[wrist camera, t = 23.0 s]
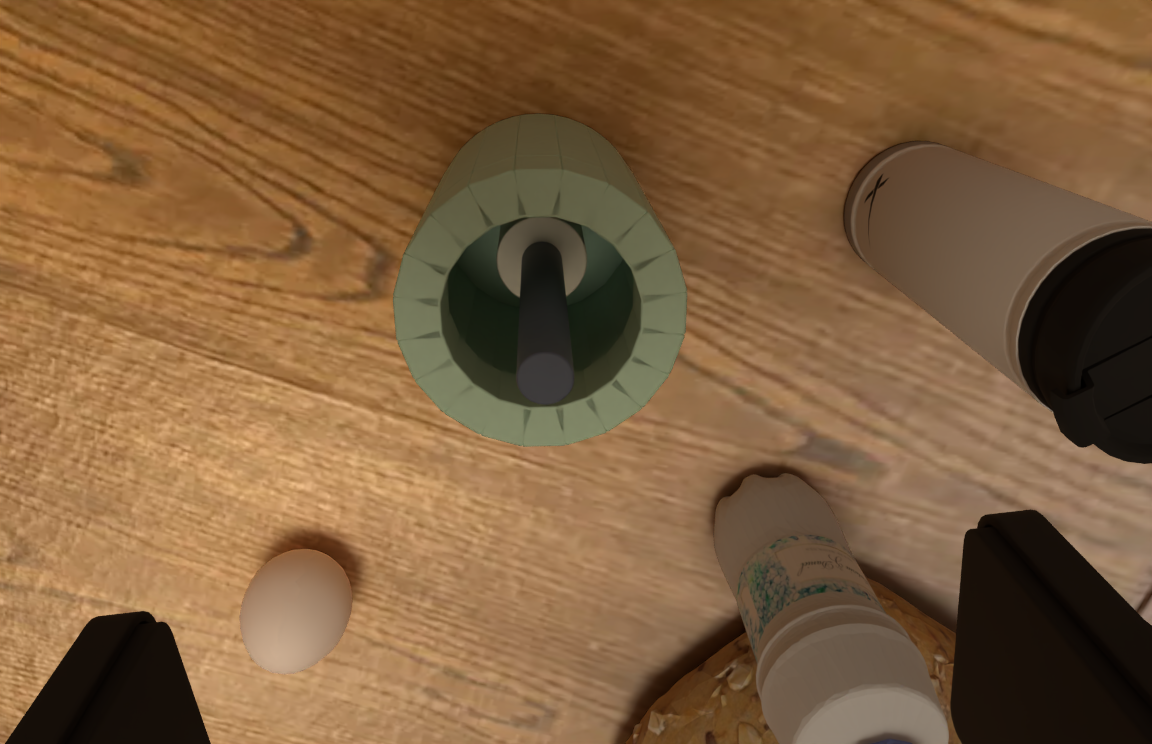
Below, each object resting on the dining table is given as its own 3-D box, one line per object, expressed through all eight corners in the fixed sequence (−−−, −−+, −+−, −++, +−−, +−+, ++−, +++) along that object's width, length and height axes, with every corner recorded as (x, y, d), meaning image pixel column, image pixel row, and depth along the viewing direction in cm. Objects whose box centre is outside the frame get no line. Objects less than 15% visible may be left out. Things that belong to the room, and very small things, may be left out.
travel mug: (815, 184, 42) (1034, 333, 24) (949, 114, 41) (1287, 212, 23) (863, 297, 44) (1098, 513, 26) (992, 233, 43) (1331, 411, 25)
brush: (485, 217, 41) (452, 367, 25) (548, 169, 40) (558, 290, 24) (533, 278, 42) (533, 461, 26) (595, 233, 42) (636, 390, 25)
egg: (251, 590, 49) (205, 685, 42) (278, 512, 47) (235, 599, 41) (345, 619, 50) (315, 717, 43) (375, 544, 48) (349, 633, 42)
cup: (395, 197, 41) (331, 289, 29) (559, 69, 40) (572, 104, 27) (520, 350, 45) (515, 495, 32) (679, 237, 43) (741, 342, 30)
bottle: (848, 479, 48) (1044, 779, 30) (792, 579, 50) (942, 915, 32) (734, 441, 47) (864, 729, 29) (682, 545, 49) (772, 873, 31)
